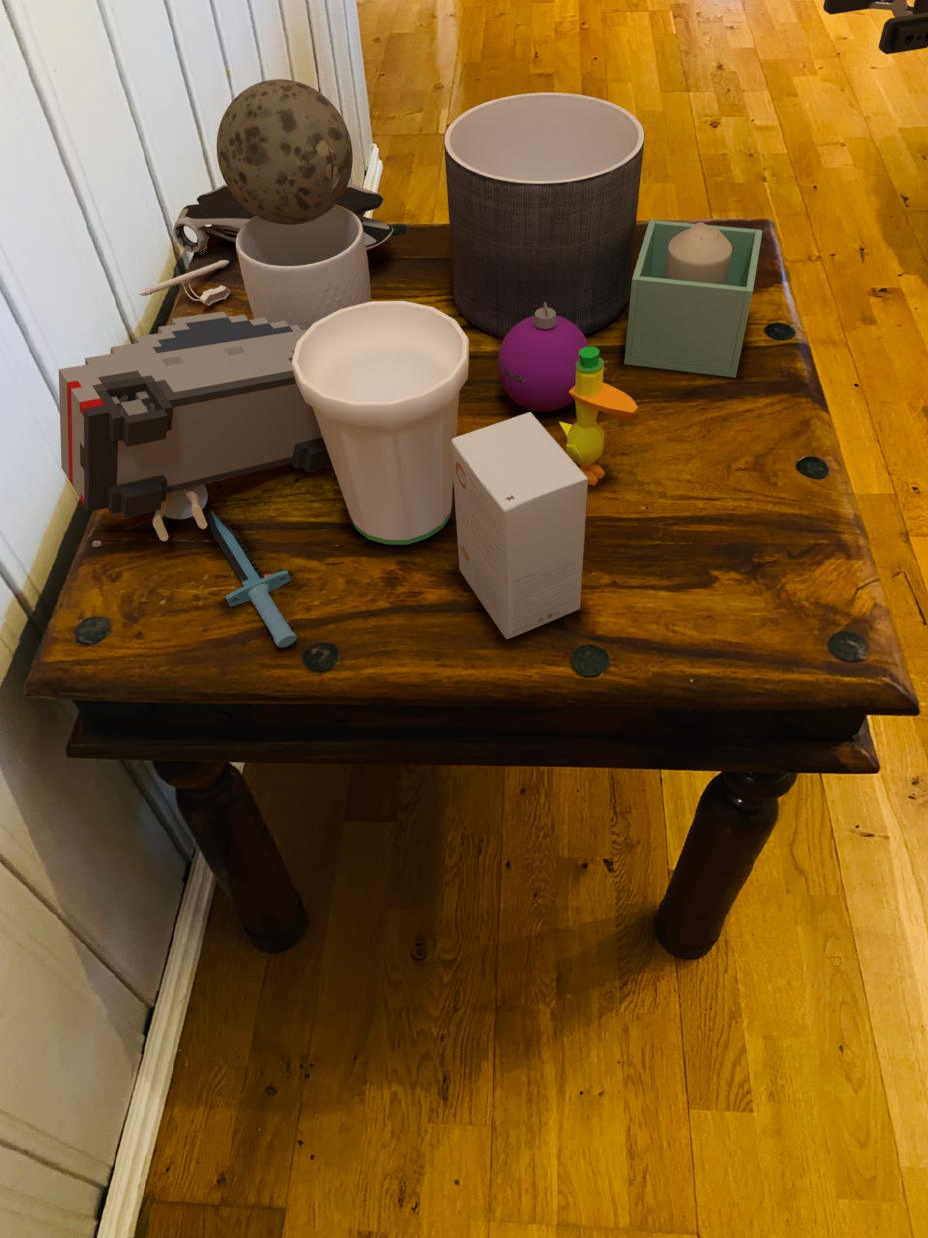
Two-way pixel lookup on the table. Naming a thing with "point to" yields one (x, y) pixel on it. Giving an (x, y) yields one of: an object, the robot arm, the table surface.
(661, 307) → the waste bin
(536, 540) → the small box
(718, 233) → the candle
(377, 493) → the cup
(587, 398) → the toy figure
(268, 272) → the mug
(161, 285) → the picture light
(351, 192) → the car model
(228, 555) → the knife
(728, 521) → the table surface
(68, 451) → the toy car
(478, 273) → the planter
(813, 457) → the table surface
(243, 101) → the decorative egg
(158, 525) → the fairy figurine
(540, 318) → the christmas ornament
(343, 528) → the table surface
